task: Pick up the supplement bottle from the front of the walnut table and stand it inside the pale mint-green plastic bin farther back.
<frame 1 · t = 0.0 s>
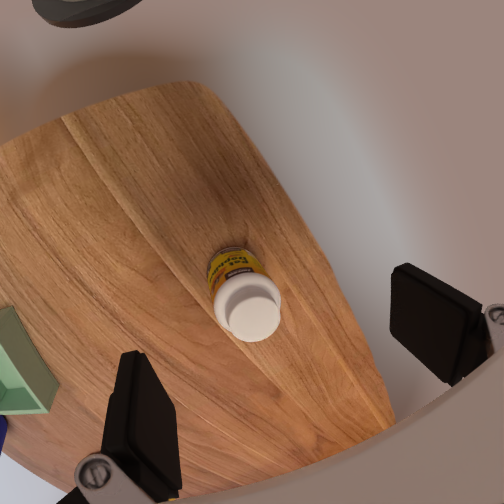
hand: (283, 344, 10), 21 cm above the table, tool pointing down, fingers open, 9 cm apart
bin: (8, 354, 27), on the table
supplement bottle: (231, 270, 31), on the table
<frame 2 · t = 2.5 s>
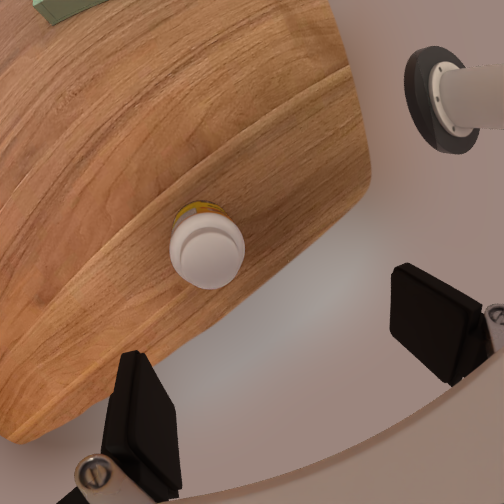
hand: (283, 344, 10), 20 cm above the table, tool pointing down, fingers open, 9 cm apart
supplement bottle: (200, 226, 29), on the table
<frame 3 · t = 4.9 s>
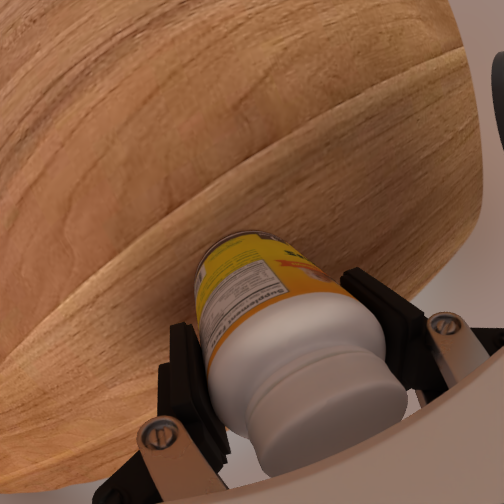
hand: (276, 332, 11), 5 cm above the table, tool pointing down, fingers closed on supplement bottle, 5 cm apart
supplement bottle: (246, 278, 15), on the table, touching gripper
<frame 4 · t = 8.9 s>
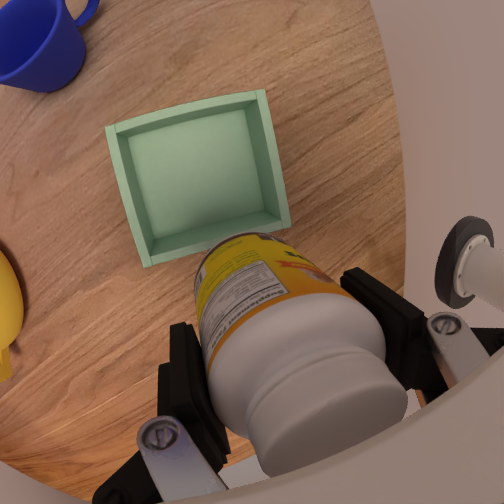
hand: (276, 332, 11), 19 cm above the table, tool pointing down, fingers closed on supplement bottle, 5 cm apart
bin: (197, 172, 27), on the table
mug: (70, 48, 19), on the table
supplement bottle: (246, 279, 15), point 14 cm above the table, touching gripper
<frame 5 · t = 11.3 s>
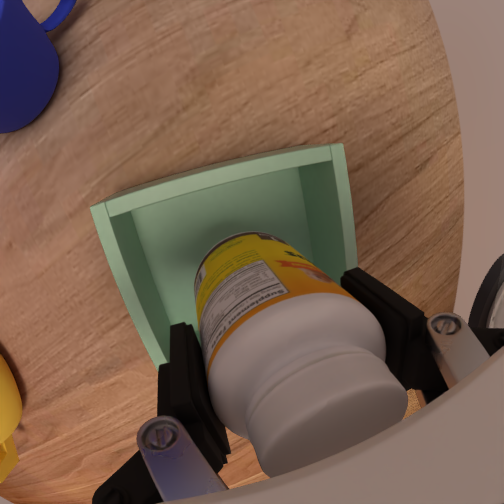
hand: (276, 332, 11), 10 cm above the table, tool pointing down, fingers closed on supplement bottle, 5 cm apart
bin: (230, 249, 20), on the table
mug: (40, 63, 13), on the table
supplement bottle: (246, 279, 15), point 5 cm above the table, touching gripper
when the fingers open (6 cm above the table, at t = 13.0 s): supplement bottle stays where it is, resting on bin.
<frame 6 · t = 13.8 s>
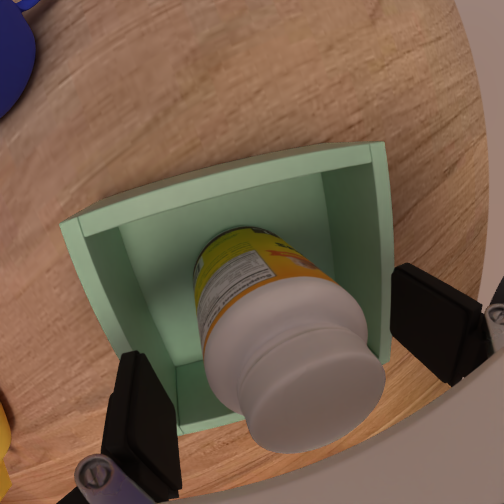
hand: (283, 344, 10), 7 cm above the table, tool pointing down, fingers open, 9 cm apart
bin: (238, 267, 17), on the table
mug: (16, 49, 9), on the table
supplement bottle: (242, 271, 16), resting on bin
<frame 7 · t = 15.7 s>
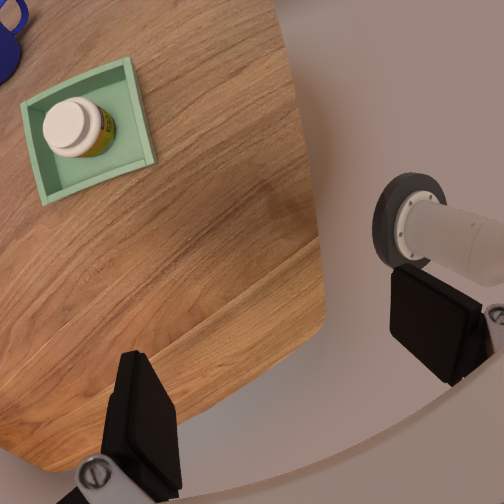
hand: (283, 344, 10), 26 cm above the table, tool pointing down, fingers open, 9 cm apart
bin: (94, 133, 28), on the table
mug: (12, 51, 20), on the table
supplement bottle: (94, 133, 27), resting on bin
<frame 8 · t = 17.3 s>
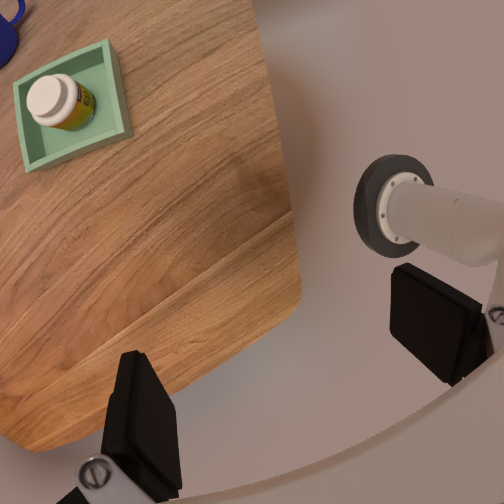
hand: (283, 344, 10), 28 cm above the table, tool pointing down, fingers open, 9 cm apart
bin: (78, 110, 28), on the table
mug: (10, 40, 21), on the table
supplement bottle: (77, 110, 28), resting on bin
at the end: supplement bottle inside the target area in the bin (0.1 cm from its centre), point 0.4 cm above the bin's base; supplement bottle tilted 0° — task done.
